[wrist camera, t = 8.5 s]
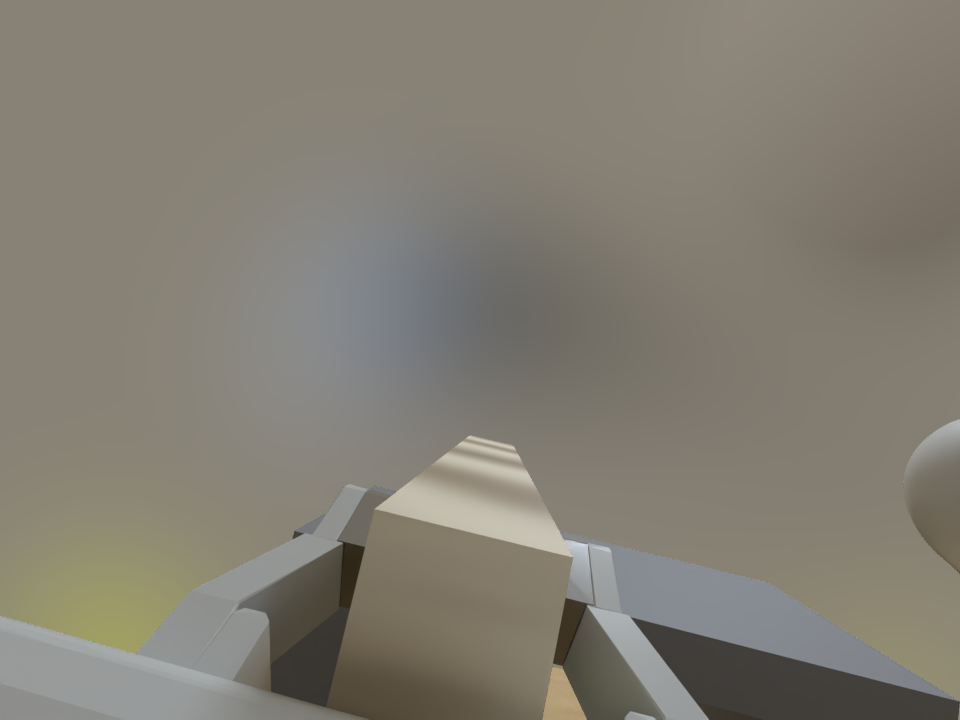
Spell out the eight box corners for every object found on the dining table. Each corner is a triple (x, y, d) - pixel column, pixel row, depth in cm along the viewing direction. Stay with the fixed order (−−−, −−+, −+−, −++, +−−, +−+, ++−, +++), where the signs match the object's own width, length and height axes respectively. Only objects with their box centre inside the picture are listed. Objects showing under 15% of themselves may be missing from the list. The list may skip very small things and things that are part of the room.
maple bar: (460, 479, 30) (470, 435, 30) (503, 489, 30) (512, 445, 30) (322, 722, 6) (374, 509, 7) (530, 779, 6) (573, 557, 6)
